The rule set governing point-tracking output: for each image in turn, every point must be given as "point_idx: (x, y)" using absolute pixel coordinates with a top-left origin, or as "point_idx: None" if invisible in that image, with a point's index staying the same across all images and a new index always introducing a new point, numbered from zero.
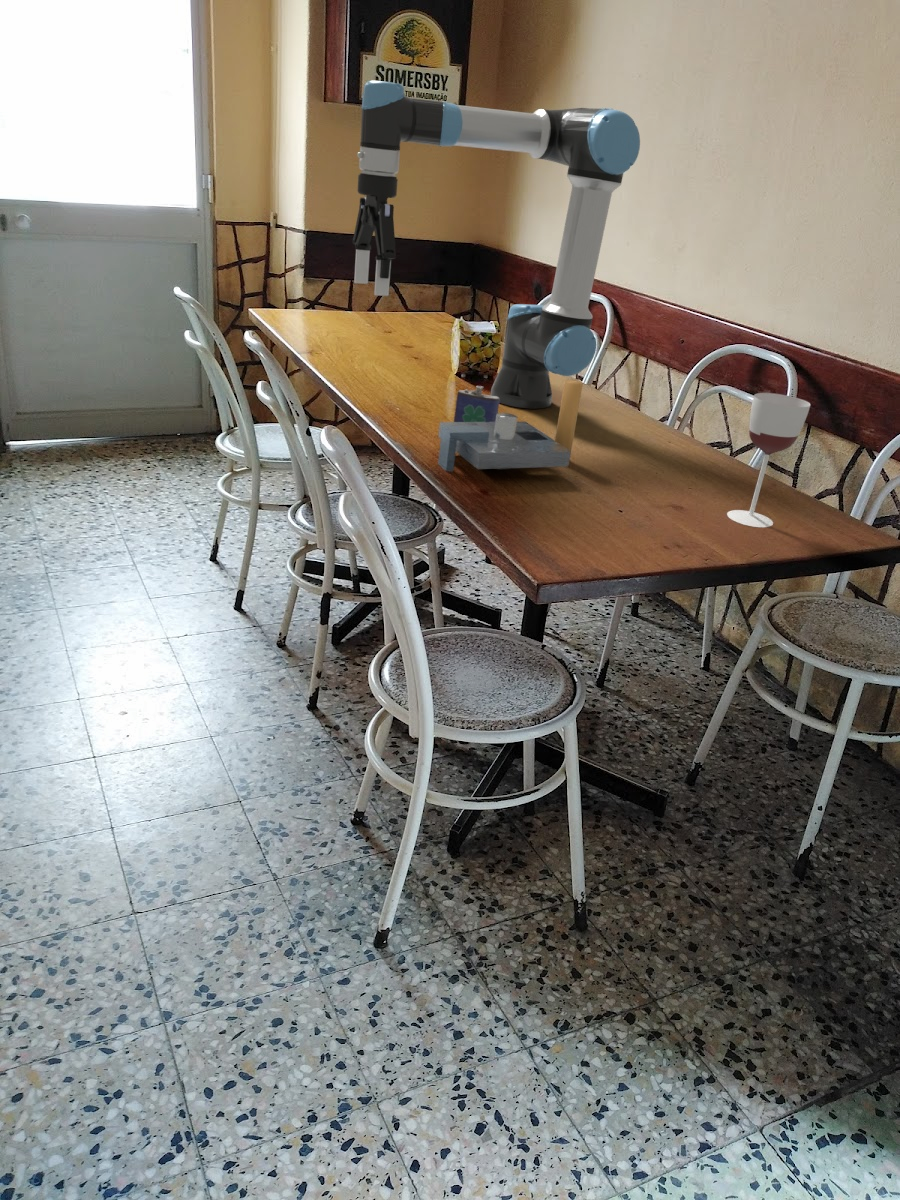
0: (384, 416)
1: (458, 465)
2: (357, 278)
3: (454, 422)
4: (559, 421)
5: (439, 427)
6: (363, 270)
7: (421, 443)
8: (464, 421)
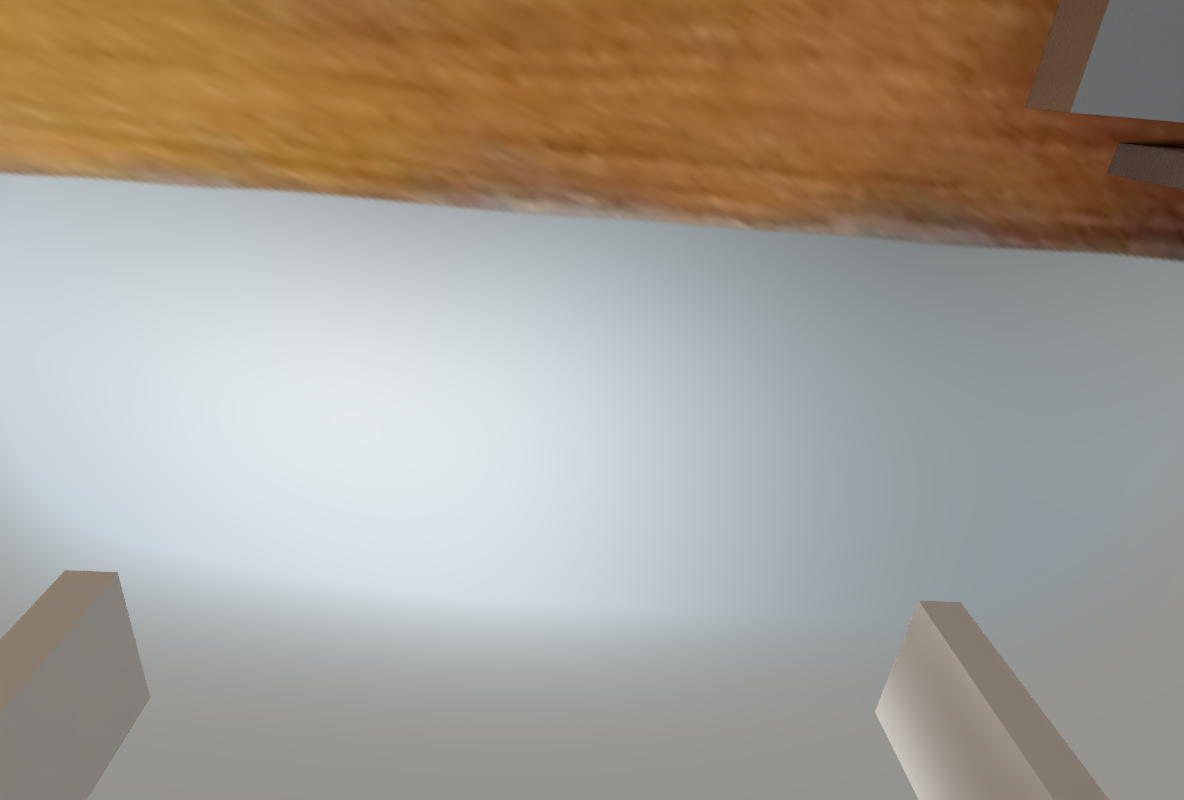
0: (487, 119)
1: None
2: (110, 728)
3: (1105, 30)
4: None
5: (1055, 110)
6: (19, 776)
7: (876, 121)
8: None
